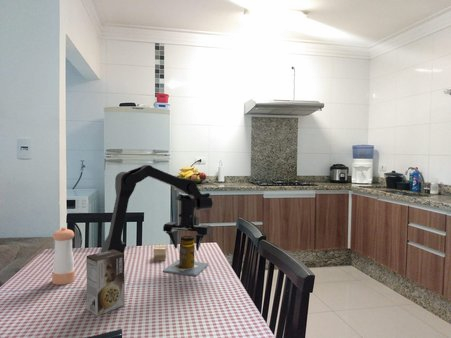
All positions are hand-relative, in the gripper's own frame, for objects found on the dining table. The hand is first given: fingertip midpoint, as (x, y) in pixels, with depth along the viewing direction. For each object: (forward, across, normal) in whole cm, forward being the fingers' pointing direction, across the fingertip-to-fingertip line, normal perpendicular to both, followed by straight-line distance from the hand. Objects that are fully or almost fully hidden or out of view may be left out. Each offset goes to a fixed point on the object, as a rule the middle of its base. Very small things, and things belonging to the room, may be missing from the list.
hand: (186, 249), depth 136 cm
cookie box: (+8, +9, +40) cm, 42 cm away
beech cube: (+8, +16, -8) cm, 20 cm away
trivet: (+8, 0, 0) cm, 8 cm away
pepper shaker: (+8, +36, +27) cm, 46 cm away
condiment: (+7, +1, 0) cm, 7 cm away
